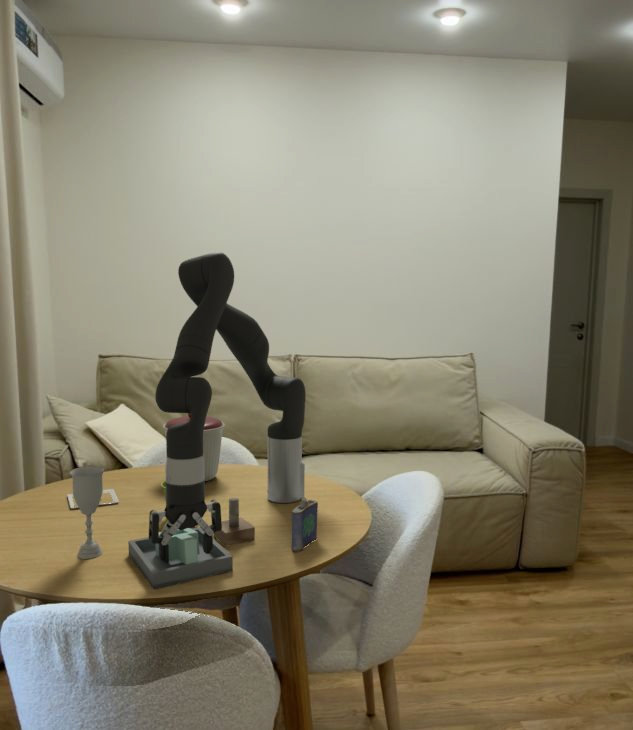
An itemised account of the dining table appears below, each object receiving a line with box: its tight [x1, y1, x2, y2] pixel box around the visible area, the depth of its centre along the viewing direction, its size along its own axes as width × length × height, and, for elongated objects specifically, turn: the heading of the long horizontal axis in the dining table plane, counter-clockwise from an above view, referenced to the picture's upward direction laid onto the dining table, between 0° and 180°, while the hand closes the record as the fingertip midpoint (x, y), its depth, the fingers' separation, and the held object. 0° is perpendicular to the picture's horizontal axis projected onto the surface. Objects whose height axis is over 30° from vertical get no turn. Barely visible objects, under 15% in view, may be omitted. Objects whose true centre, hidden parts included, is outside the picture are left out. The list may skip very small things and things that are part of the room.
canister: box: [162, 413, 226, 482], centre depth 185 cm, size 18×18×21 cm
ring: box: [155, 528, 200, 564], centre depth 127 cm, size 7×12×4 cm, turn 31°
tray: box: [127, 526, 234, 590], centre depth 128 cm, size 16×18×3 cm
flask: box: [290, 496, 319, 552], centre depth 138 cm, size 9×3×11 cm, turn 151°
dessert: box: [67, 488, 120, 510], centre depth 166 cm, size 12×12×5 cm
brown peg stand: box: [213, 497, 256, 547], centre depth 141 cm, size 7×7×9 cm
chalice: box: [69, 465, 105, 560], centre depth 131 cm, size 7×7×18 cm
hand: (186, 556), depth 124 cm, fingers open, 8 cm apart
